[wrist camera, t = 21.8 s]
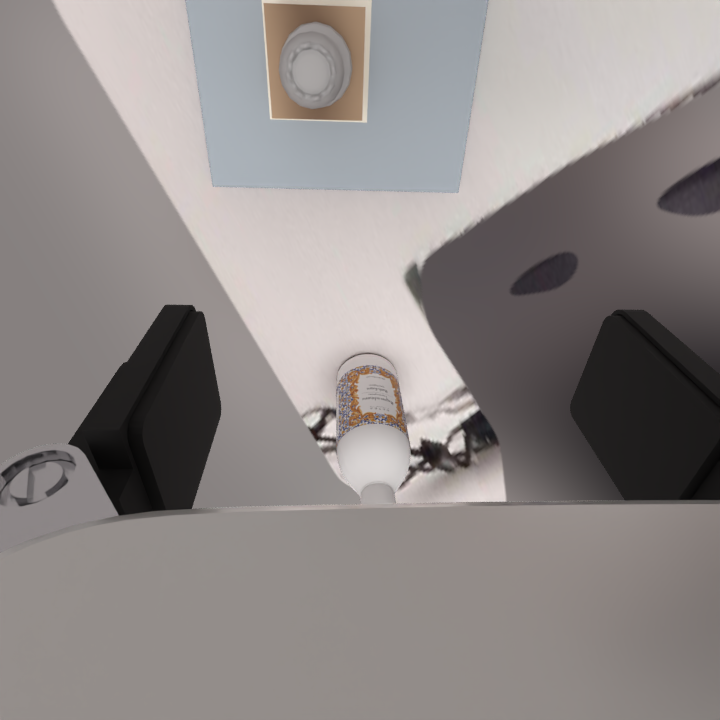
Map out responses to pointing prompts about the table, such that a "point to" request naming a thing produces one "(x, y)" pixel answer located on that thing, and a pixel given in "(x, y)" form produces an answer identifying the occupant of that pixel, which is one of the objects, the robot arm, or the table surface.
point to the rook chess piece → (315, 65)
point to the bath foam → (371, 429)
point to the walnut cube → (353, 32)
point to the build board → (380, 99)
